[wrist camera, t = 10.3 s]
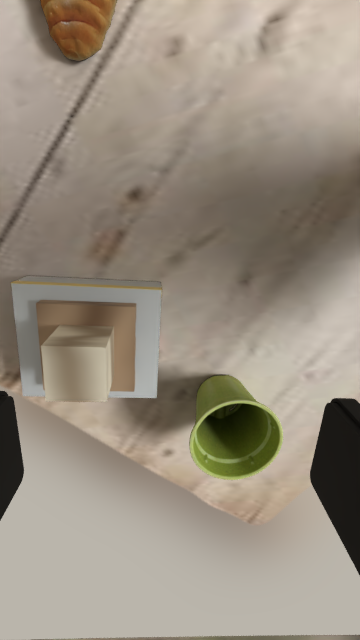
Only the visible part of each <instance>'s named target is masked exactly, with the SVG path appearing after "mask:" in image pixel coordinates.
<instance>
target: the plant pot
mask: <svg viewBox="0 0 360 640" xmlns="http://www.w3.org/2000/svg"><path fill="white" fill-rule="evenodd" d="M236 404H237V406H236V407H235V408H234V409H233V410H231V411H229V409H230V408H232V407H233V406H234V405H236ZM282 441H283V431H282V426H281V423H280V421H279V419H278V418H277V416H276V415H275V414H274V413H273V412H272V411H271V410H270V409H269V408H268V407H266V406H265V405H263V404H261V403H259V402H257V401H256V400H255V399H254V398H253V397H252V395H251V394H250V393H249V392H248V391H247V390H246V388H245V387H244V386H243V385H242V384H241V382H240V381H239V380H237V379H236V378H234V377H232V376H229V375H224V376H213V377H211V378H209V379H207V380H206V381H204V382H203V383H202V385H201V386H200V388H199V389H198V392H197V398H196V423H195V425H194V427H193V429H192V432H191V435H190V442H189V446H190V453H191V456H192V458H193V460H194V462H195V463H196V465H197V466H198V467H199V468H200V469H201V470H202V471H204V472H205V473H206V474H208V475H210V476H213V477H216V478H219V479H224V480H238V479H243V478H247V477H250V476H253V475H255V474H257V473H259V472H261V471H262V470H264V469H265V468H266V467H267V466H269V465H270V464H271V463H272V462H273V460H274V459H275V458H276V456H277V454H278V453H279V451H280V449H281V445H282Z"/></svg>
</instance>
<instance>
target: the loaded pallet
mask: <svg viewBox="0 0 360 640" xmlns="http://www.w3.org/2000/svg"><path fill="white" fill-rule="evenodd" d="M36 312H37V323H38V334H39V346H40V357H41V369H42V380H43V390H45V398H46V401H62V402H107V399H108V396H109V392H110V391H123V392H134V390H135V355H136V337H135V333H136V303H118V302H92V301H65V300H40V301H39V302H37V303H36Z"/></svg>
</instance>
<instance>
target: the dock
mask: <svg viewBox="0 0 360 640" xmlns="http://www.w3.org/2000/svg"><path fill="white" fill-rule="evenodd" d="M11 291H12V297H13V307H14V316H15V325H16V335H17V344H18V354H19V363H20V372H21V382H22V391H23V396H45V390H43V380H42V369H41V357H40V346H39V334H38V323H37V312H36V303H37V302H39V301H40V300H65V301H92V302H118V303H136V333H135V337H136V355H135V390H134V392H123V391H110V392H109V396H108V397H119V398H157V380H158V358H159V336H160V314H161V298H162V287H161V282H150V281H129V280H108V279H87V278H66V277H45V276H26V277H24V278H22V279H20V280H17V281H13V282H11Z"/></svg>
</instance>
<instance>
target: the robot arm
mask: <svg viewBox="0 0 360 640" xmlns="http://www.w3.org/2000/svg"><path fill="white" fill-rule="evenodd" d="M23 474H24V467H23V460H22V453H21V447H20V440H19V433H18V426H17V419H16V412H15V405H14V400H13V398H12V397H11V396H8V394H7V393H6V392H5V391H0V520H1V518H2V516H3V515H4V513H5V511H6V509H7V507H8V505H9V504H10V502H11V500H12V498H13V496H14V494H15V493H16V491H17V489H18V487H19V485H20V483H21V481H22V478H23ZM310 478H311V483H312V485H313V487H314V489H315V491H316V493H317V495H318V497H319V499H320V501H321V502H322V505H323V506H324V508H325V510H326V512H327V514H328V516H329V518H330V520H331V522H332V524H333V525H334V527H335V529H336V531H337V533H338V535H339V536H340V539H341V541H342V542H343V544H344V546H345V548H346V550H347V552H348V554H349V556H350V558H351V560H352V561H353V563H354V565H355V567H356V569H357V571H358V573H359V575H360V404H359V403H358V402H357V401H356V400H355V399H346V398H334V399H332V401H331V403H327V404H326V406H325V410H324V414H323V419H322V423H321V427H320V432H319V436H318V440H317V445H316V449H315V454H314V458H313V462H312V467H311V471H310ZM34 640H360V635H295V636H294V635H292V636H291V635H289V636H213V637H212V636H209V637H208V636H207V637H138V638H85V639H83V638H81V639H34Z"/></svg>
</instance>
